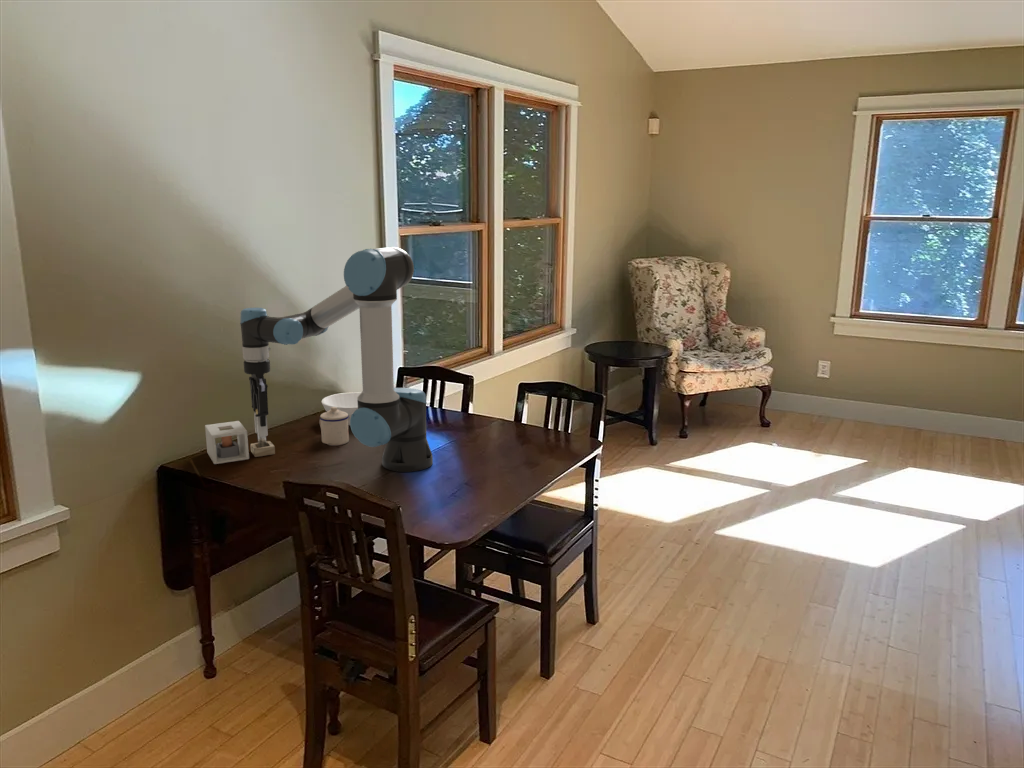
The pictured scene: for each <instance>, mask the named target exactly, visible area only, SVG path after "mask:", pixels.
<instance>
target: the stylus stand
mask: <svg viewBox="0 0 1024 768" xmlns="http://www.w3.org/2000/svg"><path fill="white" fill-rule="evenodd" d="M266 445H267V446H266V447H260V448H258V442H254V443H250V452H251V454H252V455H253V456H254V457H255V458H257V457H263V456H271V455H275V454H276V447H275V445H274V444H273V442H271V440H266Z"/></svg>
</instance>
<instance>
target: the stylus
mask: <svg viewBox="0 0 1024 768" xmlns="http://www.w3.org/2000/svg"><path fill="white" fill-rule="evenodd" d="M257 414H258V410H257V408H256V415H257ZM256 419H257V417H256ZM256 434H258V423H257V433H256ZM266 441H267V436H262V437H259V436H258V435H257V443H258V448H260V447H266V446H267V445H266Z"/></svg>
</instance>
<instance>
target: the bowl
mask: <svg viewBox="0 0 1024 768" xmlns="http://www.w3.org/2000/svg"><path fill="white" fill-rule="evenodd" d="M361 393H362V391H359V392H358V391H357V392H354V391H353V392H341V393H335V394H331V395H328V396H325V397H323V398H322V400H321V404H322V406H323V408H324V410H325V412H327V411H329V410H331V407H337V410H340V411H343V412H346V413H347V414H348V416H349V417H348V426H350V418H351V415H352V414H353V413H354V411H355V410H356V409H358V401H357V397H358V396H359V395H360V394H361Z"/></svg>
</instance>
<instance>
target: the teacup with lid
mask: <svg viewBox="0 0 1024 768" xmlns="http://www.w3.org/2000/svg"><path fill="white" fill-rule="evenodd" d="M348 417H349V416H348V414H347V413H346V412H343V411H340V410H337V407H331V410H329V411H325V412H323V413H321V414H320V416H319V426H320V431H321V442H322V443H323V444H327V445H328V446H334V447H335V446H342V445H345V444H347V443H349V441H350V433H349V425H348Z"/></svg>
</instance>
